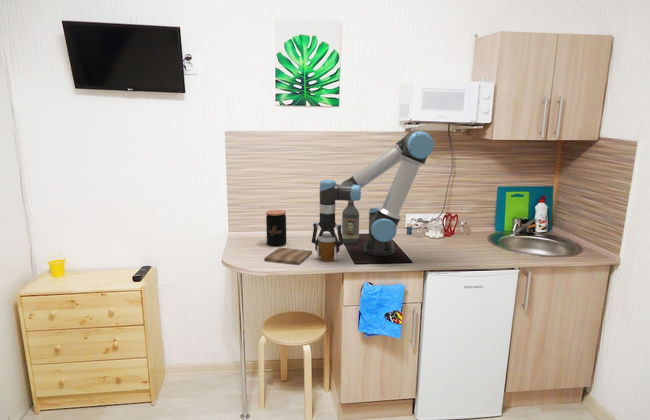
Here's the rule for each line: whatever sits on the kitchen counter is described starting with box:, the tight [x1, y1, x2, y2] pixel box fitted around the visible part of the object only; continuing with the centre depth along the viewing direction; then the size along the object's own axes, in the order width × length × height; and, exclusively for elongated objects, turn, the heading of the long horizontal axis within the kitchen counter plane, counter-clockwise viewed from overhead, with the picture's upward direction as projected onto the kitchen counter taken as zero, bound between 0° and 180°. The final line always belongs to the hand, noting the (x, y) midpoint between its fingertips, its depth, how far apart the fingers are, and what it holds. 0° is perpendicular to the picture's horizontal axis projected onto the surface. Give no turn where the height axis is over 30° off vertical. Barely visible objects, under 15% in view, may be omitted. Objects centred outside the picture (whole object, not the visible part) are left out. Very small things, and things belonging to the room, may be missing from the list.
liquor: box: [341, 201, 360, 245], centre depth 240 cm, size 9×9×30 cm
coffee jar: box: [265, 209, 287, 247], centre depth 237 cm, size 11×11×18 cm
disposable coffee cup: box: [317, 232, 336, 262], centre depth 212 cm, size 10×10×12 cm
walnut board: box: [263, 246, 313, 266], centre depth 216 cm, size 18×18×2 cm
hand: (327, 257), depth 214 cm, fingers closed on disposable coffee cup, 8 cm apart
